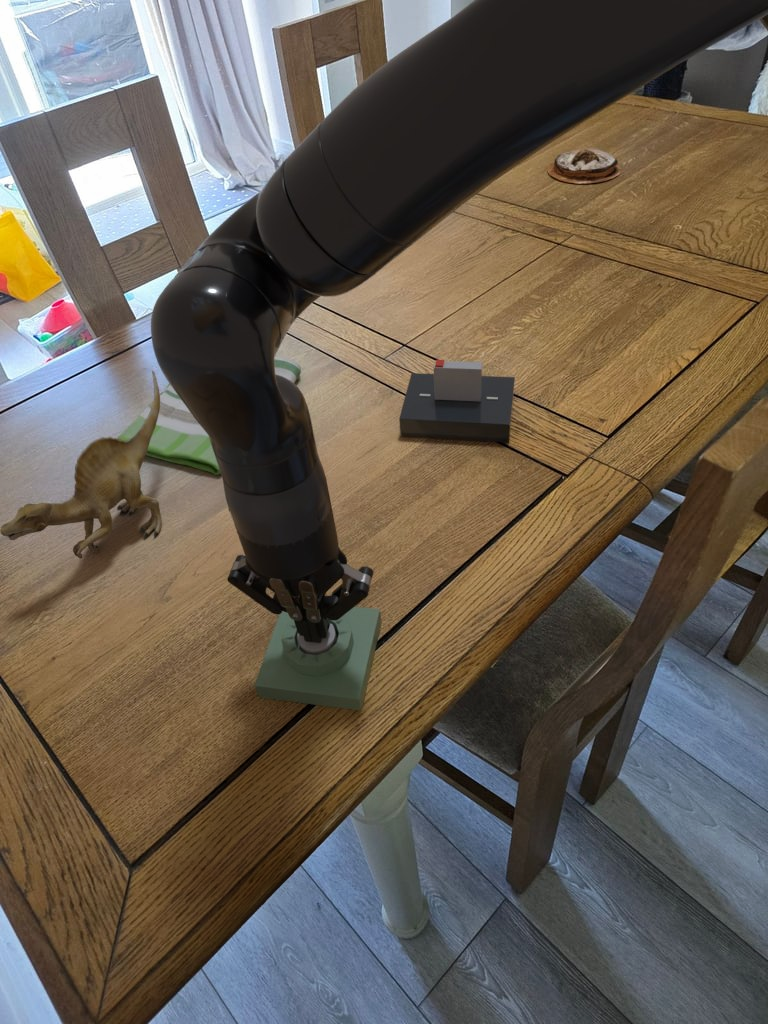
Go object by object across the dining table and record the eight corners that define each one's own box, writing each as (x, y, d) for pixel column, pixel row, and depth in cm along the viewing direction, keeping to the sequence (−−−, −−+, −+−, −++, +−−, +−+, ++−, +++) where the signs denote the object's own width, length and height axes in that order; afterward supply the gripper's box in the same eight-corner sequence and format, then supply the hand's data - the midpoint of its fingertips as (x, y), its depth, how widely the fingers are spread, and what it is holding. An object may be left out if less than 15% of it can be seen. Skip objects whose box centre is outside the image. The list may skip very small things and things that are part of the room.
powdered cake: (605, 153, 152) (607, 132, 149) (632, 178, 141) (636, 156, 138) (539, 162, 151) (540, 142, 148) (561, 188, 140) (564, 167, 137)
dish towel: (306, 375, 102) (302, 355, 100) (225, 478, 88) (218, 457, 85) (208, 358, 108) (201, 338, 105) (116, 452, 93) (107, 431, 91)
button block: (381, 621, 71) (378, 598, 68) (361, 711, 64) (356, 689, 61) (288, 611, 73) (281, 588, 70) (259, 697, 66) (249, 675, 63)
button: (341, 630, 67) (339, 620, 66) (332, 662, 65) (330, 652, 64) (305, 626, 68) (302, 616, 67) (295, 658, 66) (292, 648, 64)
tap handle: (481, 394, 91) (482, 360, 87) (480, 401, 90) (481, 367, 86) (436, 392, 92) (435, 358, 88) (434, 399, 91) (433, 366, 87)
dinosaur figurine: (38, 591, 77) (-22, 508, 68) (179, 444, 93) (147, 360, 84) (91, 611, 75) (36, 528, 65) (226, 457, 91) (199, 372, 81)
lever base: (513, 395, 95) (514, 376, 93) (509, 442, 88) (510, 423, 86) (412, 390, 97) (411, 372, 95) (400, 436, 91) (399, 417, 88)
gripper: (375, 478, 54) (391, 609, 67) (217, 466, 57) (261, 595, 69) (355, 550, 49) (376, 678, 62) (182, 534, 52) (236, 660, 64)
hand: (315, 634), depth 65 cm, fingers closed
